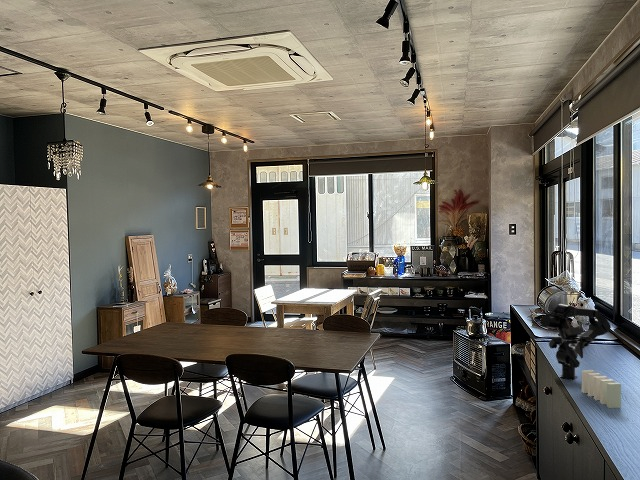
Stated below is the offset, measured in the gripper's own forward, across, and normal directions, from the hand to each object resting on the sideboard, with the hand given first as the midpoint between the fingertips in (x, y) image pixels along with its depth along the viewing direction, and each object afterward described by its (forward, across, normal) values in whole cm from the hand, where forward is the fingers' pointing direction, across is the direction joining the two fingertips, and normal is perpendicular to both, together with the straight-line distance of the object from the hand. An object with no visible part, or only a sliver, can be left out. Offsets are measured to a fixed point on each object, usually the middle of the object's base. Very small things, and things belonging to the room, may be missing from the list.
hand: (577, 358), depth 230 cm
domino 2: (+18, 0, +1) cm, 18 cm away
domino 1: (+15, 0, +4) cm, 16 cm away
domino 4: (+24, 0, -5) cm, 25 cm away
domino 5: (+27, 0, -8) cm, 28 cm away
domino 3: (+21, 0, -2) cm, 21 cm away
